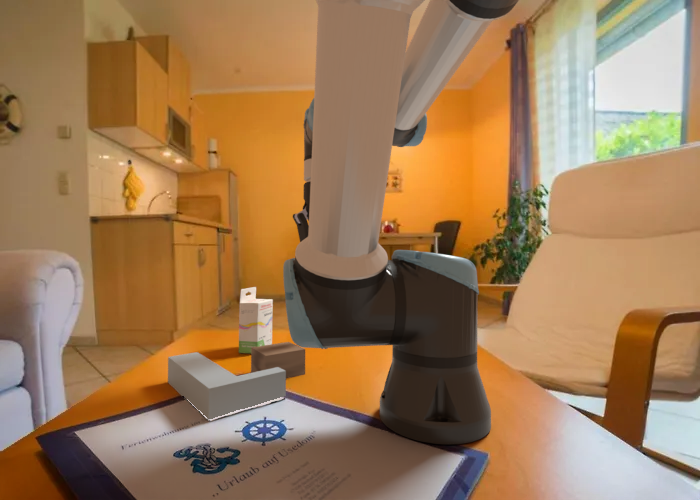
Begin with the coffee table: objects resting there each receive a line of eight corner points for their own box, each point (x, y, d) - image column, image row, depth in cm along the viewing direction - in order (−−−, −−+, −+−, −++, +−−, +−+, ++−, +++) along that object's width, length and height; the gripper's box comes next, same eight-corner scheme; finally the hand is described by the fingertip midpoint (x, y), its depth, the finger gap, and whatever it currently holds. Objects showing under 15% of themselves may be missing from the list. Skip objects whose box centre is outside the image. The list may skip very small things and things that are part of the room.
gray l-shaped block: (285, 399, 57) (285, 370, 57) (208, 421, 49) (209, 388, 49) (233, 368, 72) (233, 346, 72) (167, 382, 64) (168, 356, 64)
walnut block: (305, 375, 69) (305, 349, 69) (265, 383, 65) (265, 355, 65) (288, 366, 75) (288, 341, 75) (251, 373, 70) (251, 347, 70)
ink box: (257, 354, 83) (258, 289, 83) (237, 353, 84) (238, 289, 84) (273, 345, 91) (273, 286, 91) (254, 344, 92) (255, 286, 92)
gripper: (334, 188, 84) (333, 290, 84) (285, 181, 76) (284, 294, 75) (356, 184, 78) (355, 293, 78) (305, 175, 70) (304, 298, 70)
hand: (320, 293), depth 77 cm, fingers closed
